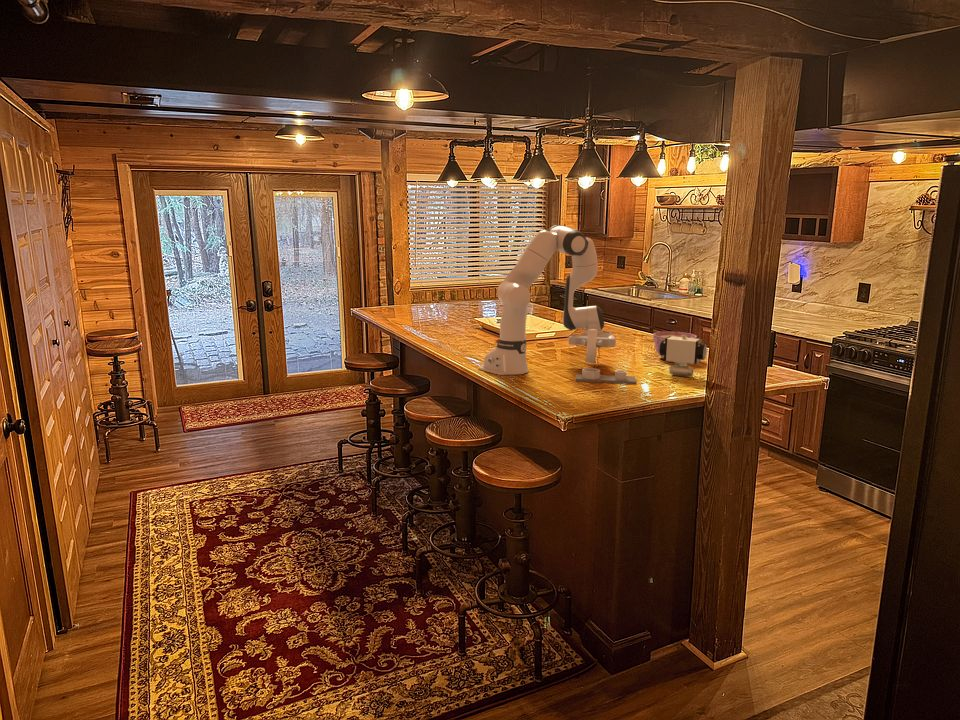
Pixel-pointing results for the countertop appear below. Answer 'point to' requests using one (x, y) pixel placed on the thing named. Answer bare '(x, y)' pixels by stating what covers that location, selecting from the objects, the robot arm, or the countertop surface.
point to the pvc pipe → (591, 346)
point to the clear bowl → (662, 335)
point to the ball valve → (682, 353)
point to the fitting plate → (604, 376)
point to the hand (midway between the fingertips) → (591, 343)
